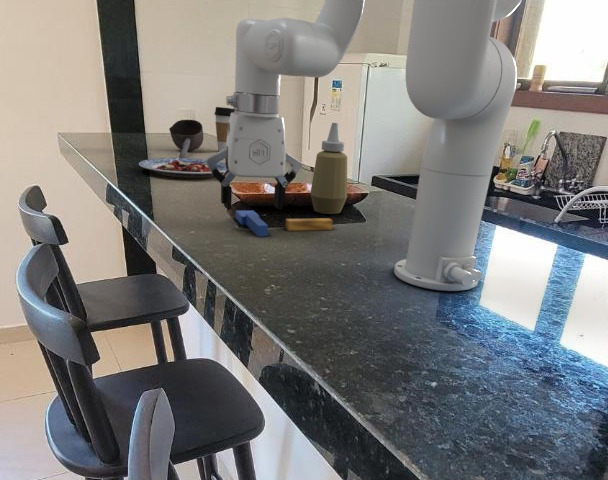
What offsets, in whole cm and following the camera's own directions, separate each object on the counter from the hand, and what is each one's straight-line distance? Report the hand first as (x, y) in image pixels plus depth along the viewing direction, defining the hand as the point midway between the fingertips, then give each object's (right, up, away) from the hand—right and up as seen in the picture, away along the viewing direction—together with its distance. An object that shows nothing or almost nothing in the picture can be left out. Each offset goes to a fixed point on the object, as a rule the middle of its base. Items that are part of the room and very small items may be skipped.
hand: (253, 207), depth 98 cm
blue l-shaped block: (0, -3, +2) cm, 4 cm away
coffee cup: (-20, +49, +99) cm, 112 cm away
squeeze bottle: (+15, +4, +19) cm, 24 cm away
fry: (+10, -3, +4) cm, 11 cm away
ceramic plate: (-24, +24, +51) cm, 62 cm away
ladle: (-31, +41, +82) cm, 97 cm away
